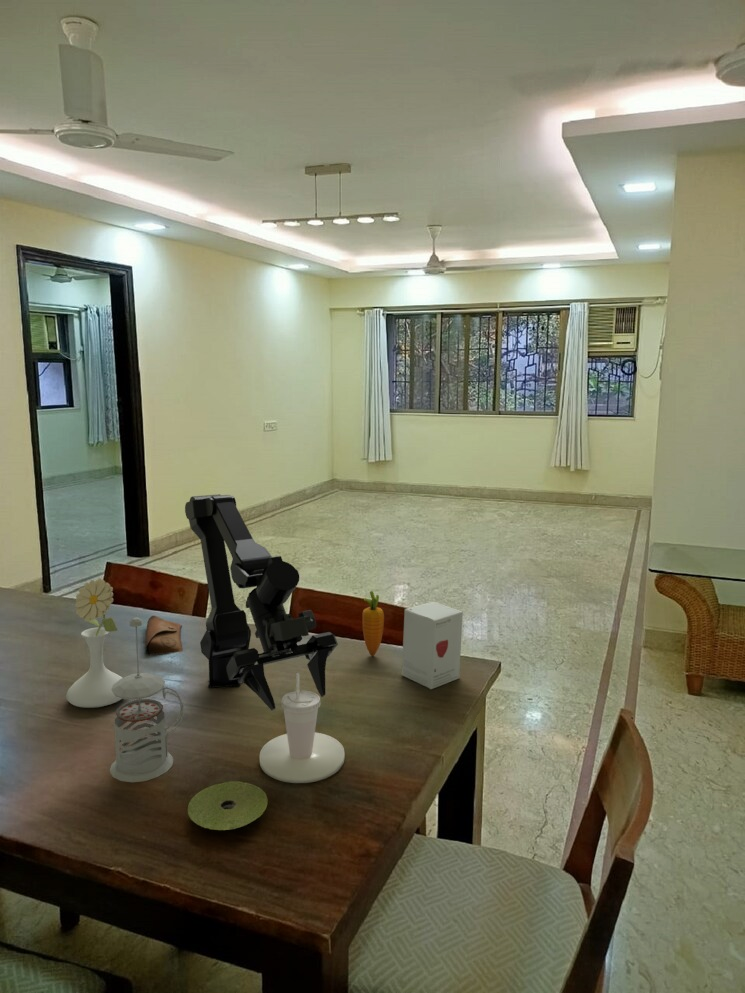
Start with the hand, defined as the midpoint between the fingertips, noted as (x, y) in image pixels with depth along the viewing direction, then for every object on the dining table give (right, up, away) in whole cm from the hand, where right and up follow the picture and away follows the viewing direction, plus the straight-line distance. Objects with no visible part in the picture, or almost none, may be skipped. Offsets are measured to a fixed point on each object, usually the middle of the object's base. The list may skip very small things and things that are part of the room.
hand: (299, 702), depth 114 cm
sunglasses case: (-37, -1, +51) cm, 63 cm away
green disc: (-9, -12, -14) cm, 21 cm away
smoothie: (0, -9, +1) cm, 9 cm away
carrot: (+12, -2, +43) cm, 45 cm away
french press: (-24, -10, -1) cm, 26 cm away
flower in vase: (-40, -6, +19) cm, 45 cm away
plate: (0, -10, +1) cm, 10 cm away
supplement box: (+24, -5, +33) cm, 41 cm away
